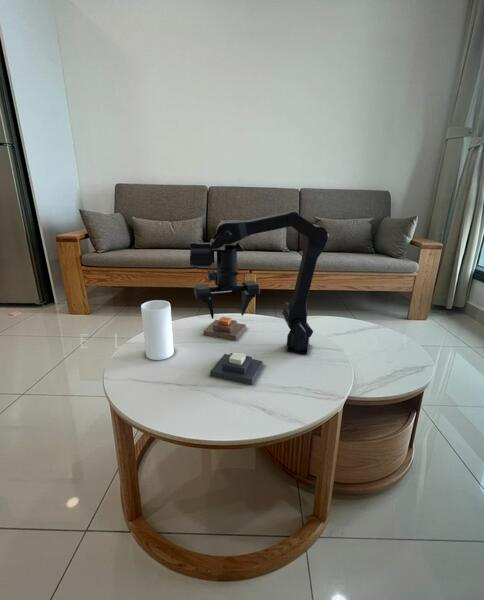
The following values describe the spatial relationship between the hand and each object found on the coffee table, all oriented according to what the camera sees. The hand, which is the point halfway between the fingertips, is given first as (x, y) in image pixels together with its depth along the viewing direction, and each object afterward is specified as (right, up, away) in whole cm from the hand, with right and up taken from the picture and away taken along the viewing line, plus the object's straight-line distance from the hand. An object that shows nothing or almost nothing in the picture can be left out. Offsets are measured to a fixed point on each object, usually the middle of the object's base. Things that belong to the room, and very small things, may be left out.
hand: (227, 316), depth 97 cm
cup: (-21, -12, +2) cm, 24 cm away
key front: (+3, -12, -7) cm, 14 cm away
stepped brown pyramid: (-2, -6, +17) cm, 19 cm away
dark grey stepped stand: (+3, -15, -6) cm, 17 cm away
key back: (-2, -3, +16) cm, 17 cm away
